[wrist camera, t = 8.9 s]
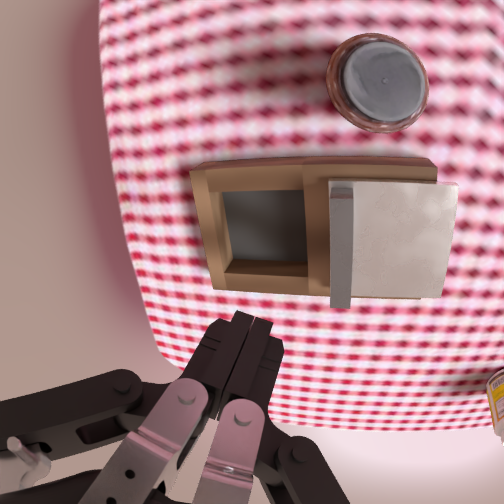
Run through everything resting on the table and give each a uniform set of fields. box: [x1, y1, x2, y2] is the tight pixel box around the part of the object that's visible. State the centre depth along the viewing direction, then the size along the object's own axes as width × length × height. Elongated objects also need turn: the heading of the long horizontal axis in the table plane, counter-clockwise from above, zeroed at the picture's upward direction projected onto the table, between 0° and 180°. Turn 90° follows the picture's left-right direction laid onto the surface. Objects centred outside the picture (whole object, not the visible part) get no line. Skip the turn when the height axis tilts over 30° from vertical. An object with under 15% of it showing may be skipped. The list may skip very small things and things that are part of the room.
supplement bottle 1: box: [326, 33, 429, 133], centre depth 17 cm, size 6×6×11 cm
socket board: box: [189, 156, 438, 299], centre depth 27 cm, size 12×20×3 cm, turn 97°
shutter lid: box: [328, 178, 459, 309], centre depth 22 cm, size 10×10×3 cm
